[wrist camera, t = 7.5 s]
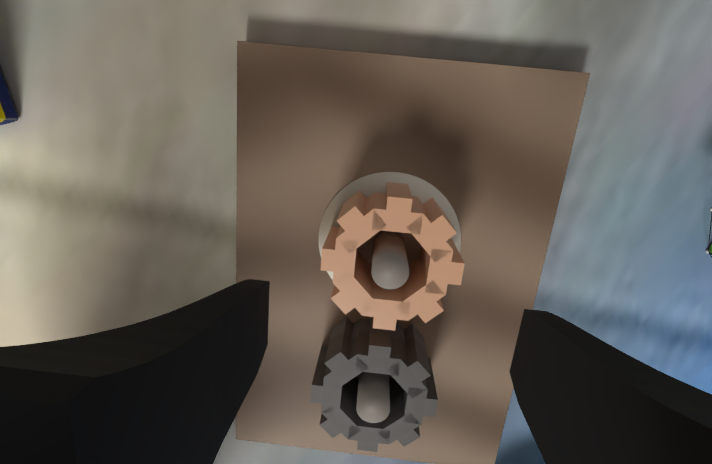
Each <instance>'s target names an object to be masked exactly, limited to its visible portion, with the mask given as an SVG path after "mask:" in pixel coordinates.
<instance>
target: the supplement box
mask: <svg viewBox="0 0 712 464" xmlns="http://www.w3.org/2000/svg"><path fill="white" fill-rule="evenodd" d="M17 120H18V115H17V112H16V109H15V107H14V104H13V101H12V98H11V96H10V93H9V90H8V88H7V85H6V83H5V80H4V77H3V74H2V72H1V69H0V125H3V124H7V123H11V122H14V121H17Z"/></svg>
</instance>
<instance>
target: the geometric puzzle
mask: <svg viewBox="0 0 712 464" xmlns="http://www.w3.org/2000/svg"><path fill="white" fill-rule="evenodd" d="M710 211H712V208H710ZM711 222H712V214H711ZM710 232H711V225H710ZM709 241H710V235H709ZM706 253H709V254H710V255H711V254H712V244H711V246H710V248H709V245H708V250H706ZM711 257H712V256H711Z"/></svg>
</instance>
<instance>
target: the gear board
mask: <svg viewBox="0 0 712 464" xmlns="http://www.w3.org/2000/svg"><path fill="white" fill-rule="evenodd" d="M589 76H590V73H583V72H573V71H562V70H551V69H540V68H529V67H518V66H507V65H496V64H485V63H474V62H463V61H452V60H441V59H430V58H419V57H409V56H398V55H387V54H376V53H365V52H354V51H343V50H332V49H321V48H310V47H299V46H288V45H277V44H266V43H255V42H244V41H238V46H237V274H236V283H238V282H241V281H243V280H247V279H254V280H263V281H270V287H269V318H268V345H267V348H266V351H265V354H264V357H263V360H262V362H261V365H260V368H259V371H258V374H257V376H256V378H255V380H254V382H253V384H252V386H251V388H250V389H249V391H248V393H247V395H246V397H245V399H244V401H243V403H242V405H241V407H240V409H239V411H238V413H237V415H236V439H239V440H247V441H255V442H263V443H271V444H279V445H288V446H296V447H304V448H312V449H320V450H328V451H336V452H345V453H353V454H361V455H369V456H377V457H385V458H393V459H402V460H410V461H418V462H426V463H434V464H495V460H496V456H497V452H498V448H499V444H500V440H501V436H502V432H503V428H504V424H505V420H506V415H507V411H508V407H509V403H510V399H511V395H512V391H513V383H512V379H511V376H510V372H509V371H510V367H511V363H512V359H513V354H514V350H515V346H516V342H517V337H518V333H519V329H520V325H521V320H522V316H523V312H524V309H529V310H532V309H533V305H534V301H535V297H536V293H537V289H538V285H539V281H540V276H541V272H542V268H543V264H544V260H545V256H546V252H547V248H548V244H549V240H550V236H551V231H552V227H553V223H554V219H555V215H556V211H557V207H558V203H559V199H560V195H561V191H562V186H563V182H564V178H565V174H566V170H567V166H568V162H569V158H570V154H571V150H572V146H573V141H574V137H575V133H576V129H577V125H578V121H579V117H580V113H581V109H582V105H583V101H584V97H585V92H586V88H587V84H588V80H589ZM387 182H394V183H404V184H408V186H409V189H410V192H411V196H417V197H418V198H419V200H420V201H421V202H422V203H423V204H425V203H426V202H427V201H428V200H430V199H431V198H432V197H433V198H434V200H435V201H436V202H437V203H438V205H439V206H440V207H441V208H442V210H443V211H444V212H445V214H446V215H447V217H448V219H449V220H450V222H451V224H452V226H453V227H454V229H455V231H456V232H457V234H455V235H454V236H453V237H451V238H450V239H452V240H453V242H454V244H455V246H456V248H457V250H458V251H459V253H460V255H461V257H462V259H463V261H464V263H465V265H464V271H463V276H462V282H461V285H453V284H448V285H447V291H446V295H445V296H443V297H442V298H441V303H442V306H443V309H444V311H443V312H441V313H440V314H438V315H437V316H435V317H434V318H432V319H431V320H429V321H428V322H427V323H425V322H424V321H423V320H422V319H421V318H420V317H419V315H418V314H417V315H416V316H415V317H413V318H412V319H410V320H409V321H405V320H397V321H396V328H395V331H394V330H385V329H376V328H373V317H369V316H363V315H361V314H360V313H359V311H358V310H357V309H356V308H354V309H352V310H351V311H350V312H348V313H347V314H344V312H343V311H342V310H341V309H340V308H339V307H338V306H337V305H336V304H335V303H334V302H333V300H332V299H331V295H332V291H333V288H334V284H333V272H331V271H321V256H322V247H323V245H324V243H325V240H326V238H327V236H328V233H329V231H330V228H331V226H333V227H340V226H341V225H340V224H339V223H338V222H337V219H338V216H339V214H340V211H341V209H342V206H343V204H344V202H345V201H347V200H348V199H349V198H350V197H352V196H353V195H354V194H355V193H356V192H358V191H359V190H360V191H361V192H362V193H363V195H364V196H365V197H366V198H368V197H370V196H371V195H372V194H373V193H375V192H379V193H386V185H387ZM358 251H359V252H360V254H361V255H362V256H363V257H364V258H365V259H366V260H367V262H368V263H369V264H370V265H371V266H372V272H371V273H372V278H373V280H374V281H375V283H376V284H377V285H378V286H380V287H382V288H384V289H396V288H399V287H401V286H402V285H404V284H405V282H406V281H407V279H408V277H409V266H408V265H410V264H411V263H412V262H414V261H415V260H417V259H418V258H419V257H420V251H421V244H420V243H419V242H418V241H417V240H416V238H415V237H414V236H413V235H412V234H411V233H401V232H391V231H381V230H380V231H379V232H378V233H376V234H375V235H374V236H372V237H371V238H370V239H369V240H367V241H366V242H365V243H363V244H362V245H361V246H359V247H358Z"/></svg>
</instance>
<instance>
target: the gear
mask: <svg viewBox="0 0 712 464" xmlns="http://www.w3.org/2000/svg"><path fill="white" fill-rule="evenodd" d="M337 222H338V223H339V224H340V225H341V226H340V227H333V226H331V228H330V231H329V233H328V236H327V238H326V240H325V243H324V245H323V247H322V256H321V271H331V272H333V284H334V288H333V291H332V295H331V299H332V300H333V302H334V303H335V304H336V305H337V306H338V307H339V308H340V309H341V310H342V311H343V312H344V314H347V313H348V312H350V311H351V310H352V309H354V308H356V309H357V310H358V311H359V313H360V314H361V315H363V316H369V317H373V328H376V329H385V330H394V331H395V328H396V321H397V320H405V321H409V320H410V319H412V318H413V317H415V316H416V315H417V314H418V315H419V317H420V318H421V319H422V320H423V321H424V322H425V323H427V322H428V321H429V320H431V319H432V318H434V317H435V316H437V315H438V314H440V313H441V312H443V311H444V309H443V306H442V303H441V298H442V297H443V296H445V295H446V291H447V285H448V284H453V285H461V282H462V276H463V271H464V265H465V263H464V261H463V259H462V257H461V255H460V253H459V251H458V250H457V248H456V246H455V244H454V242H453V240H452V239H450V238H451V237H453V236H454V235H455V234H457V232H456V231H455V229H454V227H453V226H452V224H451V222H450V220H449V219H448V217H447V215H446V214H445V212H444V211H443V210H442V208H441V207H440V206H439V205H438V203H437V202H436V201H435V200H434V198H433V197H432V198H431V199H430V200H428V201H427V202H426V203H425V204H423V203H422V202H421V201H420V200H419V198H418V197H417V196H411V192H410V189H409V186H408V184H404V183H394V182H387V185H386V193H379V192H375V193H373V194H372V195H371V196H370V197H368V198H366V197H365V196H364V195H363V193H362V192H361V191H360V190H359V191H358V192H356V193H355V194H354V195H353V196H352V197H350V198H349V199H348V200H347V201H345V202H344V204H343V206H342V209H341V211H340V214H339V216H338V219H337ZM380 230H381V231H391V232H401V233H411V234H412V235H413V236H414V237H415V238H416V240H417V241H418V242H419V243H420V244H421V251H420V257H419V258H418V259H417V260H415V261H414V262H412V263H411V264H410V265H408V266H409V277H408V279H407V281H406V282H405V284H404V285H402V286H401V287H399V288H396V289H384V288H382V287H380V286H378V285H377V284H376V283H375V281H374V280H373V278H372V273H371V272H372V266H371V265H370V264H369V263H368V262H367V260H366V259H365V258H364V257H363V256H362V255H361V254H360V252H359V251H358V247H359V246H361V245H362V244H363V243H365V242H366V241H367V240H369V239H370V238H371V237H372V236H374V235H375V234H376V233H378V232H379V231H380Z"/></svg>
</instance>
